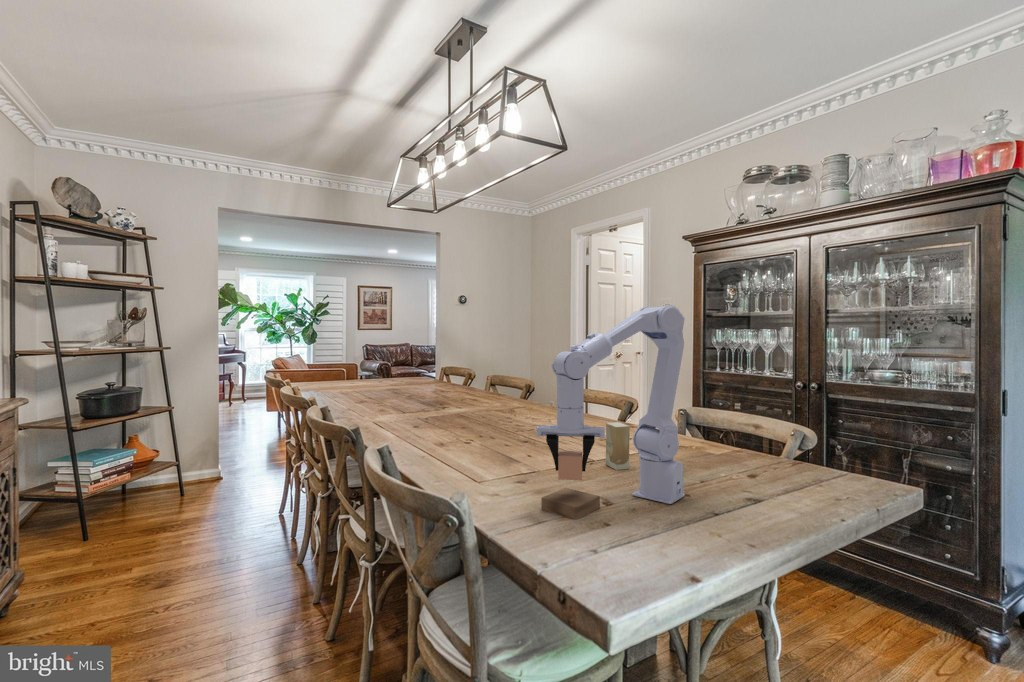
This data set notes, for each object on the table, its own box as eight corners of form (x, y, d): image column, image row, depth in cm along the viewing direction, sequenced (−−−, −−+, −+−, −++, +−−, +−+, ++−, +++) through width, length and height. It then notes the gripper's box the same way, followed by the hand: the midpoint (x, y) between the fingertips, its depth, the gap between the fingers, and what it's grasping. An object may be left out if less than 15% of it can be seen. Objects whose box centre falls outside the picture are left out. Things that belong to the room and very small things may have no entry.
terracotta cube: (582, 473, 108) (582, 451, 108) (582, 480, 104) (582, 456, 103) (559, 472, 109) (559, 450, 109) (558, 479, 104) (558, 455, 104)
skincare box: (605, 464, 142) (604, 422, 141) (618, 463, 143) (618, 421, 143) (616, 470, 135) (616, 426, 135) (630, 469, 137) (630, 425, 136)
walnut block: (599, 509, 107) (599, 496, 107) (576, 522, 100) (576, 507, 100) (565, 500, 113) (565, 487, 113) (541, 511, 106) (541, 497, 106)
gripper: (603, 404, 109) (603, 465, 109) (538, 403, 111) (538, 463, 111) (605, 409, 102) (605, 475, 102) (535, 408, 104) (535, 472, 104)
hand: (570, 469), depth 106 cm, fingers closed on terracotta cube, 5 cm apart
